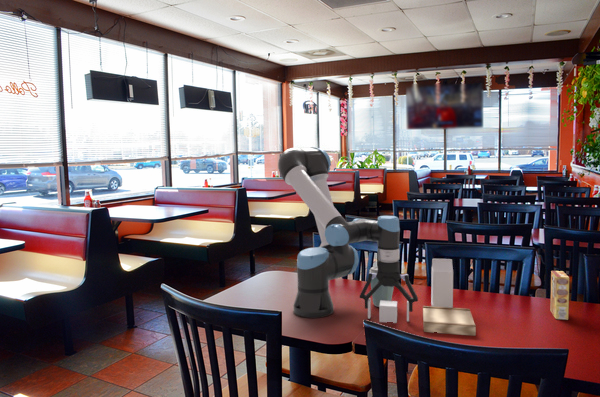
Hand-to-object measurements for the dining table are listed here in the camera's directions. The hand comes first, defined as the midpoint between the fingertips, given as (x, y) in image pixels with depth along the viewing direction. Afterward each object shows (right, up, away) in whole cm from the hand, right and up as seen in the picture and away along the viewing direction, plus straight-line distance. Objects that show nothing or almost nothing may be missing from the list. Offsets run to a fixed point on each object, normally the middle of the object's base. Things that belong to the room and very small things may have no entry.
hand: (388, 318), depth 159 cm
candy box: (+61, +1, +1) cm, 61 cm away
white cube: (0, 0, 0) cm, 0 cm away
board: (+19, 0, -6) cm, 20 cm away
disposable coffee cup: (+1, +1, +15) cm, 15 cm away
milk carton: (+22, +1, +11) cm, 25 cm away
